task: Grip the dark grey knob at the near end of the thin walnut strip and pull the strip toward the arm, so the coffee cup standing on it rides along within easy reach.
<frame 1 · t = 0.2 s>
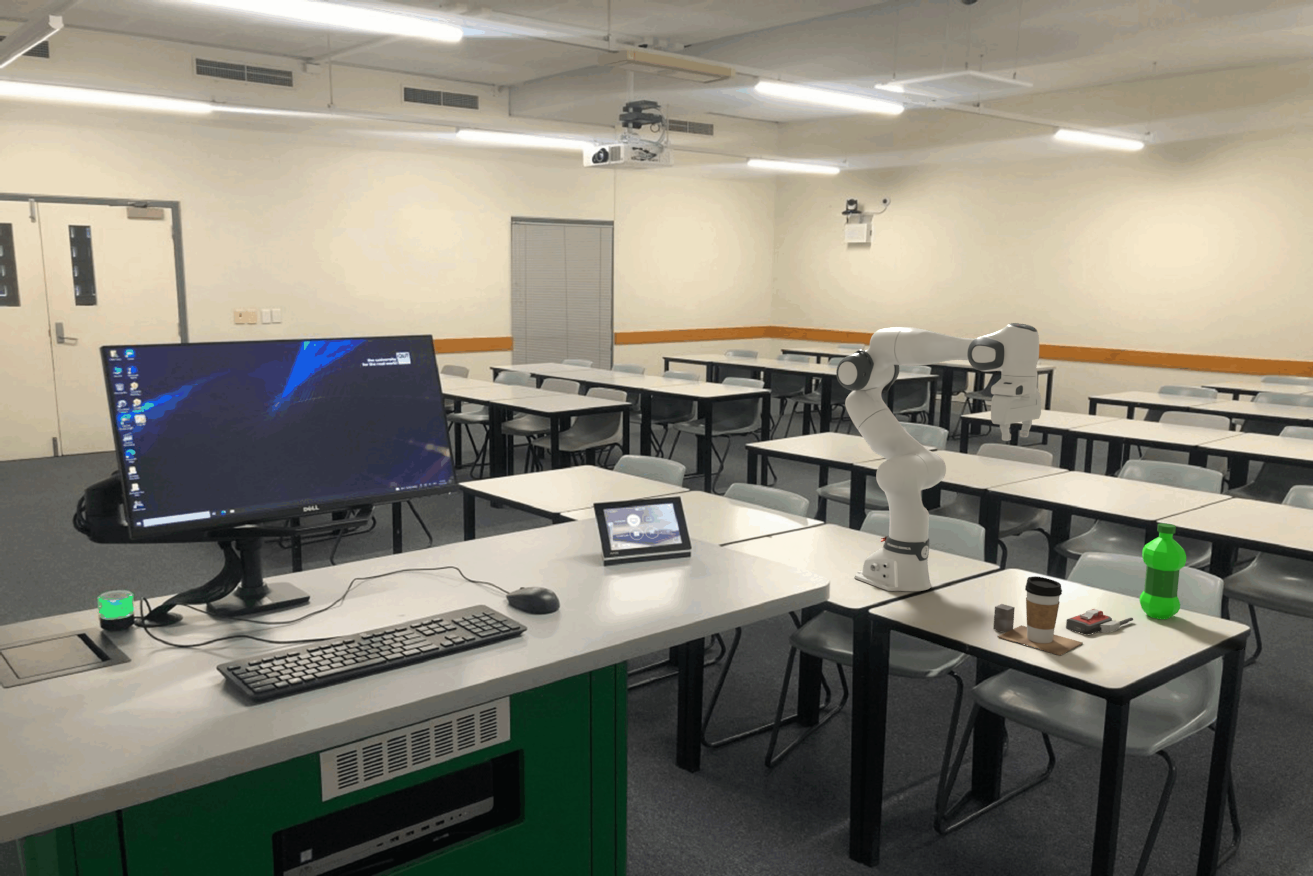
hand: (1015, 438, 252), 47 cm above the table, tool pointing down, fingers open, 8 cm apart
walkie-talkie: (1098, 628, 249), on the table
walnut strip: (1034, 626, 239), point 3 cm above the table, slide at 0.1 cm, touching coffee cup
coffee cup: (1039, 639, 238), resting on walnut strip
plastic bottle: (1158, 616, 257), on the table
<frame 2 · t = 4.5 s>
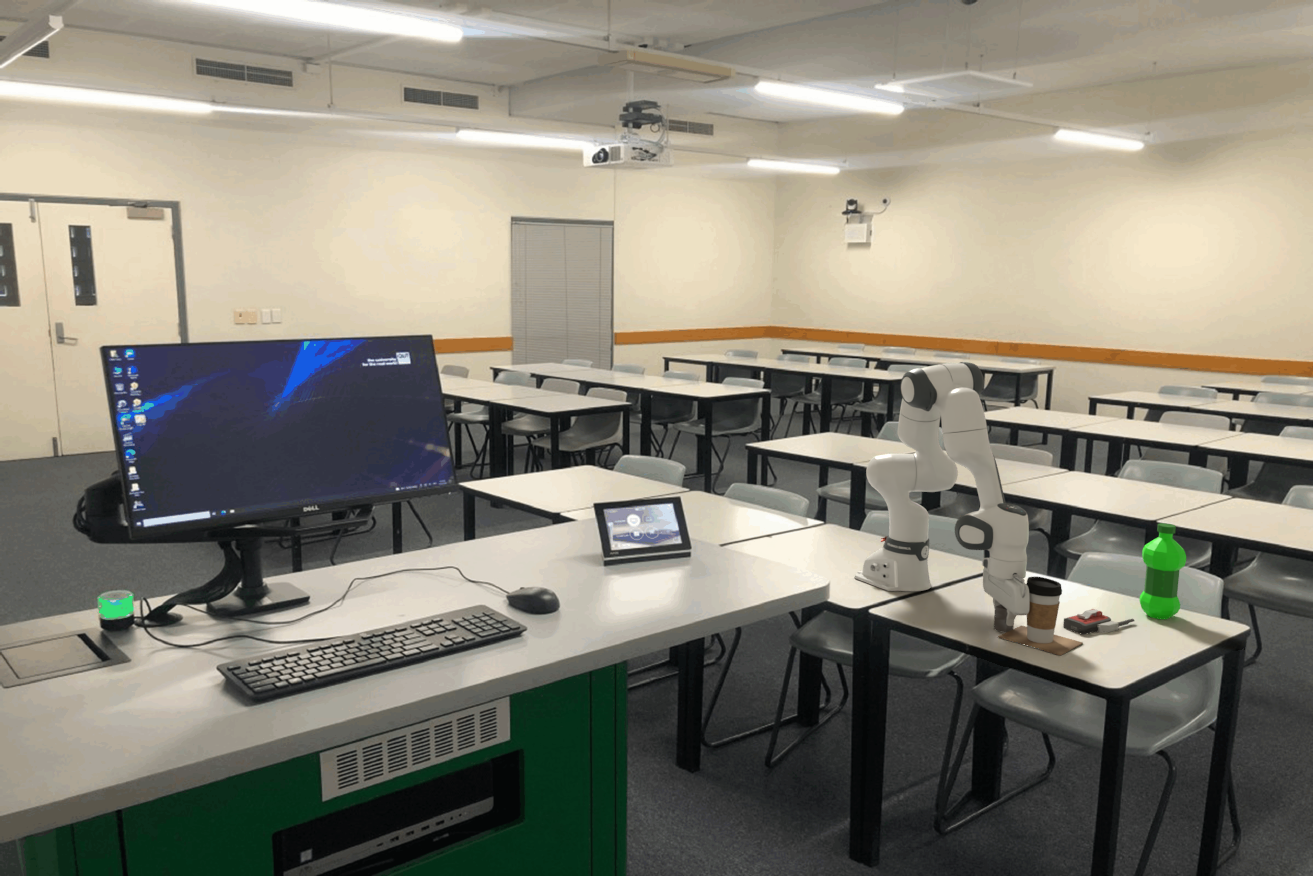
hand: (1003, 620, 245), 3 cm above the table, tool pointing down, fingers closed on walnut strip, 5 cm apart
walnut strip: (1034, 626, 239), point 3 cm above the table, slide at 0.0 cm, touching coffee cup, gripper
everything else where it was.
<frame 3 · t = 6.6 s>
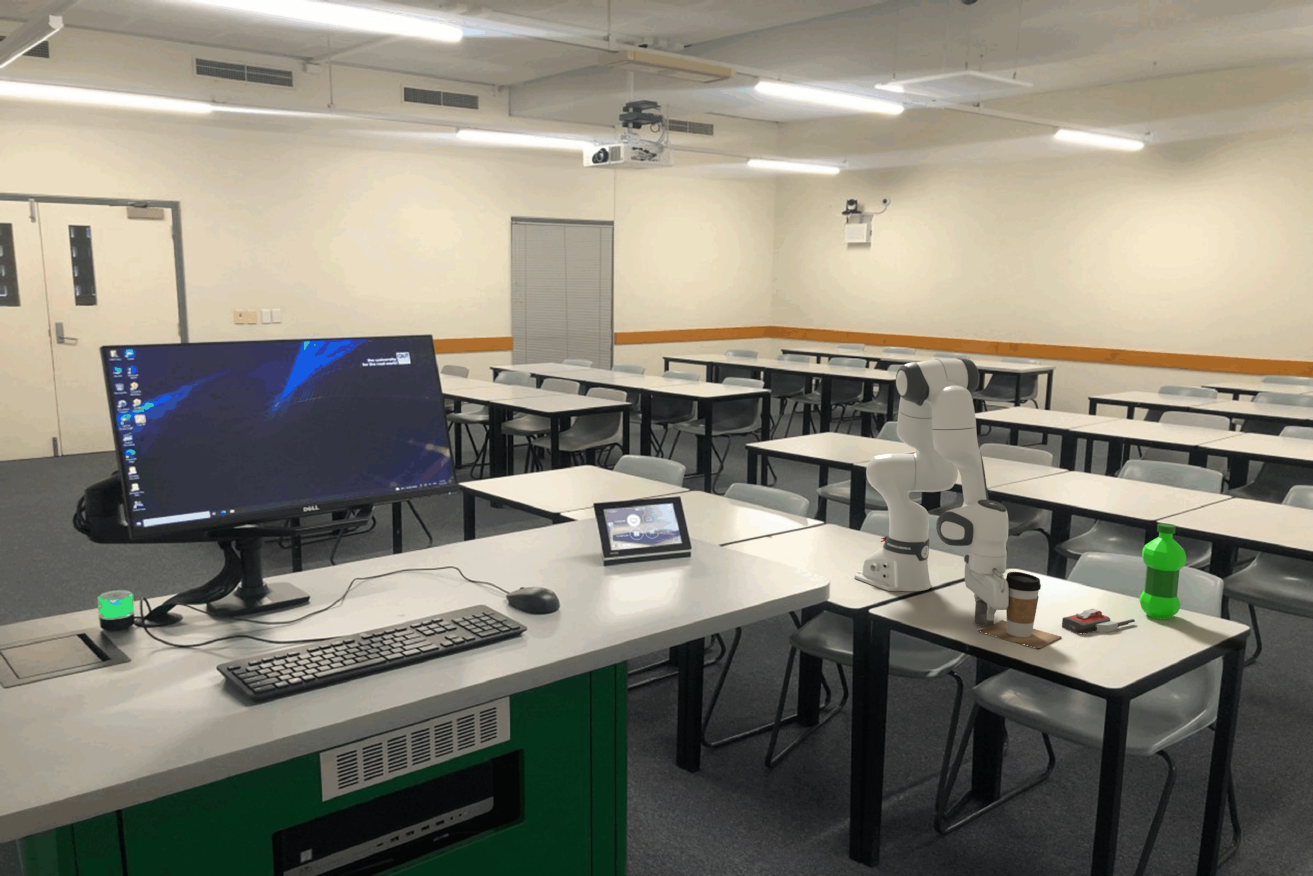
hand: (984, 615, 249), 3 cm above the table, tool pointing down, fingers closed on walnut strip, 5 cm apart
walnut strip: (1013, 621, 243), point 3 cm above the table, slide at 5.4 cm, touching coffee cup, gripper
coffee cup: (1019, 634, 242), resting on walnut strip
everything else where it was.
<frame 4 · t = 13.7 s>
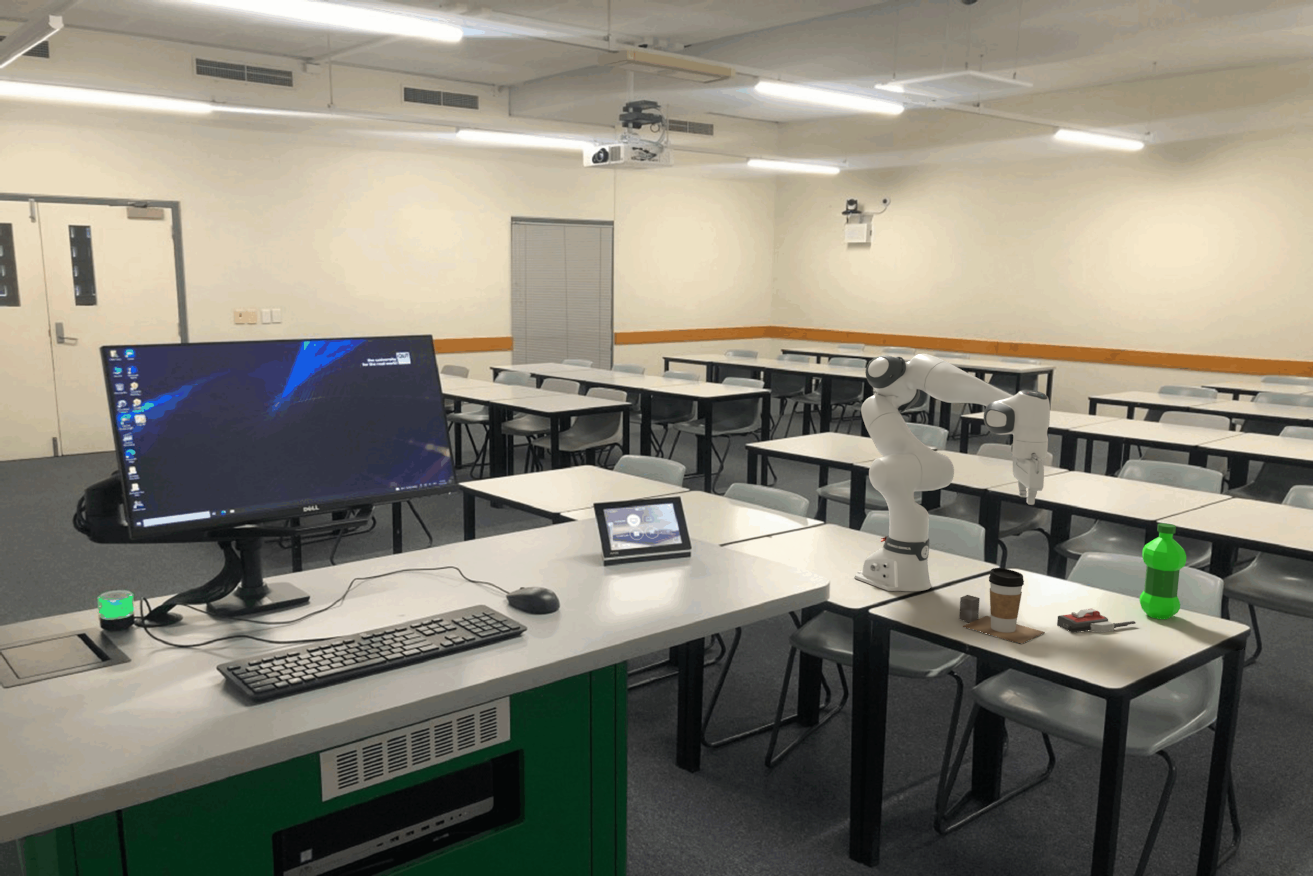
hand: (1026, 500, 263), 29 cm above the table, tool pointing down, fingers open, 8 cm apart
walnut strip: (997, 616, 246), point 3 cm above the table, slide at 9.8 cm, touching coffee cup
coffee cup: (1003, 629, 245), resting on walnut strip
at the end: walnut strip slide at 9.8 cm; coffee cup inside the target area (1.1 cm from its centre), resting on walnut strip; coffee cup tilted 0° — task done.
